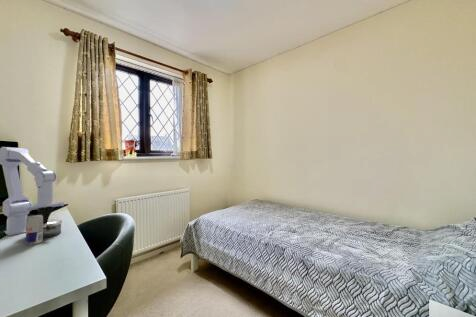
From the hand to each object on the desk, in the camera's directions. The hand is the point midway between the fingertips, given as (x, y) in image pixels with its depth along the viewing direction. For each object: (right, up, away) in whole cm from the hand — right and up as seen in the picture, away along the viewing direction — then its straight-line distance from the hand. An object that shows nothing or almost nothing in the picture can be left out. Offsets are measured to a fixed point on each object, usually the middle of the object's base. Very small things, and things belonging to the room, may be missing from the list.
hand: (44, 222), depth 107 cm
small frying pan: (+1, -1, -1) cm, 2 cm away
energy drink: (+5, -6, -10) cm, 13 cm away
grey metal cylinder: (0, -6, 0) cm, 6 cm away
